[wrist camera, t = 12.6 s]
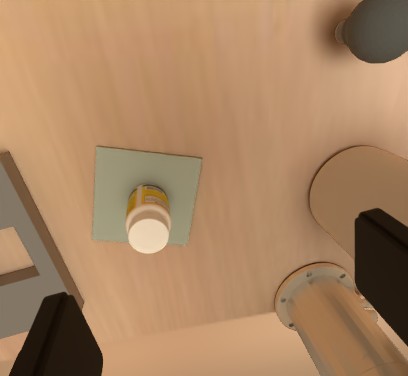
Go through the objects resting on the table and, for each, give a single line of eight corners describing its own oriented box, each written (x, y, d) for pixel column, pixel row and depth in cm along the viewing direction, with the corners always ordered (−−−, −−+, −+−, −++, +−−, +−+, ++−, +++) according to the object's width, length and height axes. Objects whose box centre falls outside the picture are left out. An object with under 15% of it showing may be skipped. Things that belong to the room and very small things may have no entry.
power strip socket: (-95, 177, 34) (-118, 189, 31) (8, 151, 34) (-4, 160, 32) (3, 325, 43) (-8, 344, 40) (83, 302, 43) (79, 319, 41)
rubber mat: (201, 157, 38) (202, 158, 38) (187, 243, 42) (187, 245, 42) (96, 145, 36) (96, 146, 35) (92, 238, 40) (92, 240, 40)
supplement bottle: (137, 223, 40) (135, 264, 32) (121, 191, 38) (114, 226, 30) (174, 209, 40) (179, 246, 32) (159, 176, 38) (162, 208, 30)
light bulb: (356, 65, 37) (424, 69, 28) (308, 57, 36) (362, 59, 26) (373, 5, 35) (453, -12, 25) (323, -5, 33) (387, -26, 24)
